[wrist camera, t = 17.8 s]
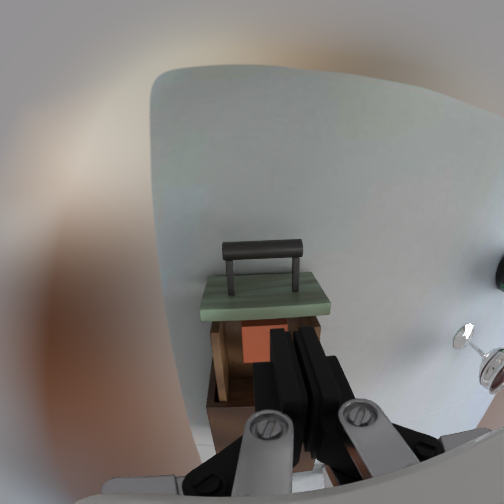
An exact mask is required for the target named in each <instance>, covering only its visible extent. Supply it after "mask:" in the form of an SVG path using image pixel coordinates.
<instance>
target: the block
mask: <svg viewBox="0 0 504 504" xmlns="http://www.w3.org/2000/svg"><path fill="white" fill-rule="evenodd" d="M275 328H284V329H285V331H288V323H287V319H286V318H276V319H259V320H241V332H242V348H243V363H253V362H270V329H275Z"/></svg>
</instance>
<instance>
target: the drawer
mask: <svg viewBox="0 0 504 504" xmlns="http://www.w3.org/2000/svg"><path fill="white" fill-rule="evenodd" d="M222 253H223V260H226V273H227V276H218V277H208V279H207V283H206V286H205V290H204V294H203V297H202V301H201V305H200V308H199V314H200V321H212V325H211V331H210V337H211V345H212V353H213V360H214V368H215V375H216V382H217V389H218V396H219V402H220V403H236V402H254V386H253V363H243V348H242V332H241V320H259V319H276V318H286V319H287V323H288V331H290V333H291V337H292V340H293V332H294V331H298V328H299V327H303V326H313V327H314V329H315V331H316V334H317V336H318V339H319V341H320V332H321V326H320V324H319V322H318V320H317V318H316V316H318V315H329V314H330V308H331V302H330V301H329V299H328V297H327V296H326V294H325V293H324V291H323V289H322V288H321V286H320V285H319V283H318V281H317V280H316V278H315V277H314V275H313V274H312V272H304V273H299V261H300V258H299V257H302V255H303V243H302V240H301V239H289V240H264V241H240V242H223V243H222ZM288 257H292V273H285V274H265V275H243V276H234V274H233V260H243V259H266V258H288Z"/></svg>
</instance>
